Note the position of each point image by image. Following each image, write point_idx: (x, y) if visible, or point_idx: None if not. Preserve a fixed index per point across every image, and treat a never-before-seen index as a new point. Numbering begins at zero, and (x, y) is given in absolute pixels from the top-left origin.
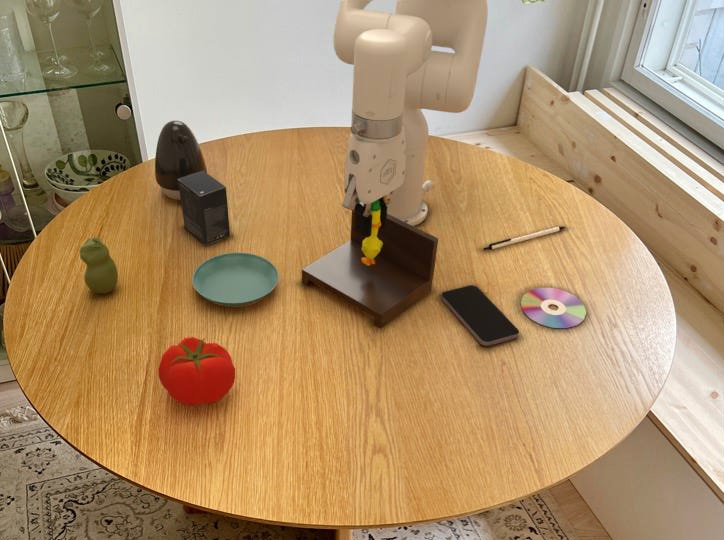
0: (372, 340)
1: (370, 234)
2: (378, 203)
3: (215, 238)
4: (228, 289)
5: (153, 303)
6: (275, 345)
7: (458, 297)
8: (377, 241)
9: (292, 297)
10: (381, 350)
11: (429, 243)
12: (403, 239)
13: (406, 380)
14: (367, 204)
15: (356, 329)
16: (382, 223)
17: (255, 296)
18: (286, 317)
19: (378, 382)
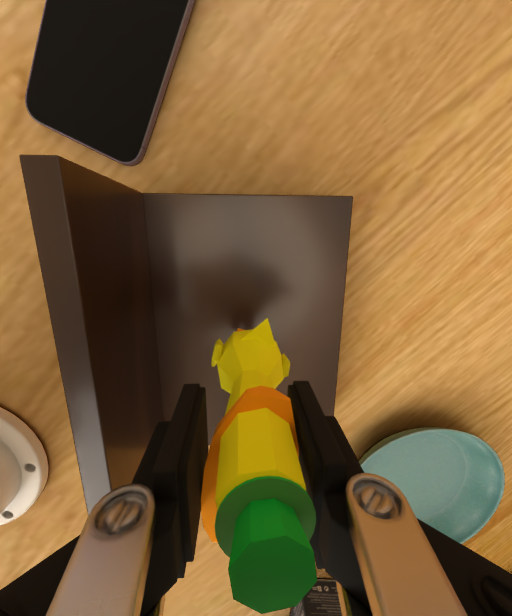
0: (378, 189)
1: (298, 384)
2: (263, 544)
3: (330, 588)
4: (424, 482)
5: (509, 523)
6: (497, 324)
7: (108, 111)
8: (245, 356)
9: (365, 398)
10: (394, 149)
11: (77, 188)
12: (115, 320)
13: (449, 25)
14: (447, 604)
15: (369, 241)
16: (202, 401)
17: (414, 441)
18: (420, 365)
19: (488, 79)
